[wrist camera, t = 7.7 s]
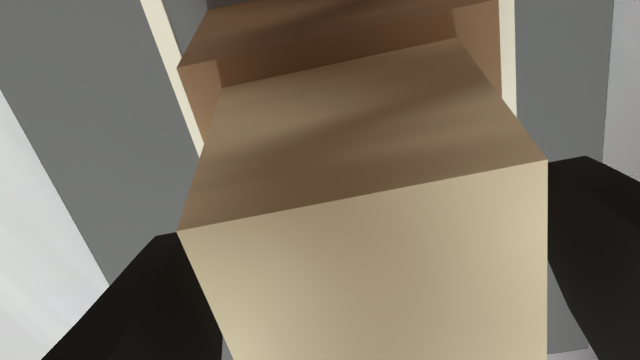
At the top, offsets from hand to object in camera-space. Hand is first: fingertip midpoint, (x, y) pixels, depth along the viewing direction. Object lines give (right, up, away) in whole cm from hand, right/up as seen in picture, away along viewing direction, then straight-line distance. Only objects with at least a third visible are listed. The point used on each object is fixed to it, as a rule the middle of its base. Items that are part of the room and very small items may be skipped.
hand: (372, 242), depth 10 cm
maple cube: (0, +1, +2) cm, 2 cm away
